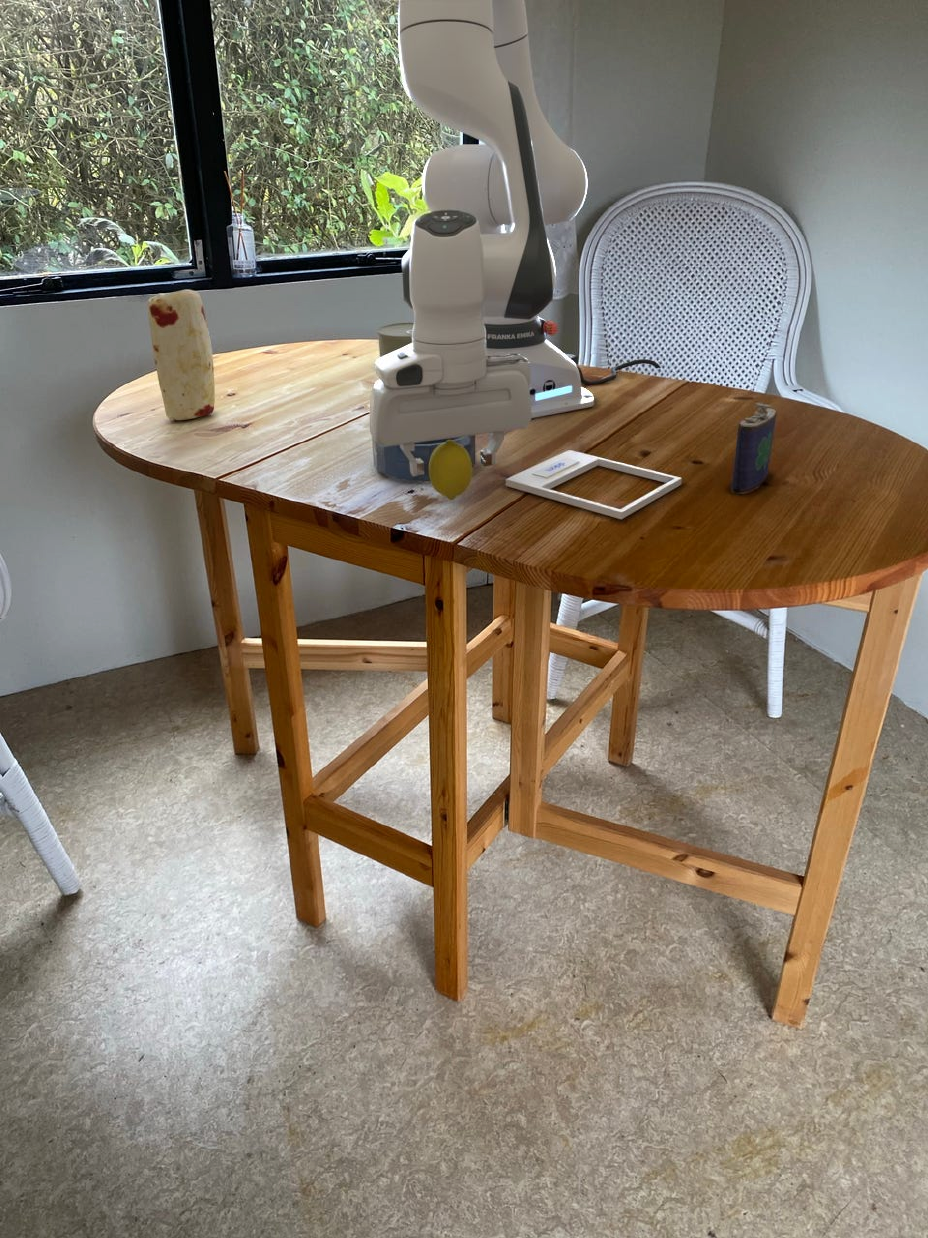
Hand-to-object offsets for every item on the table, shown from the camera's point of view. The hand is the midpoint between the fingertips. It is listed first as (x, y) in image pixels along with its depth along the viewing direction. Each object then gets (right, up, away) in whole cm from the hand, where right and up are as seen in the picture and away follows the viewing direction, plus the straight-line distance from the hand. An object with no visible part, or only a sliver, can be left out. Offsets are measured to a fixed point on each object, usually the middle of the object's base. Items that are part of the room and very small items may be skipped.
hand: (453, 469), depth 117 cm
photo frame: (+19, -2, +5) cm, 19 cm away
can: (-9, +30, +61) cm, 69 cm away
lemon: (0, -4, +2) cm, 4 cm away
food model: (-43, +14, +35) cm, 58 cm away
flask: (+39, -1, +5) cm, 40 cm away
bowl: (-4, +2, +13) cm, 13 cm away
